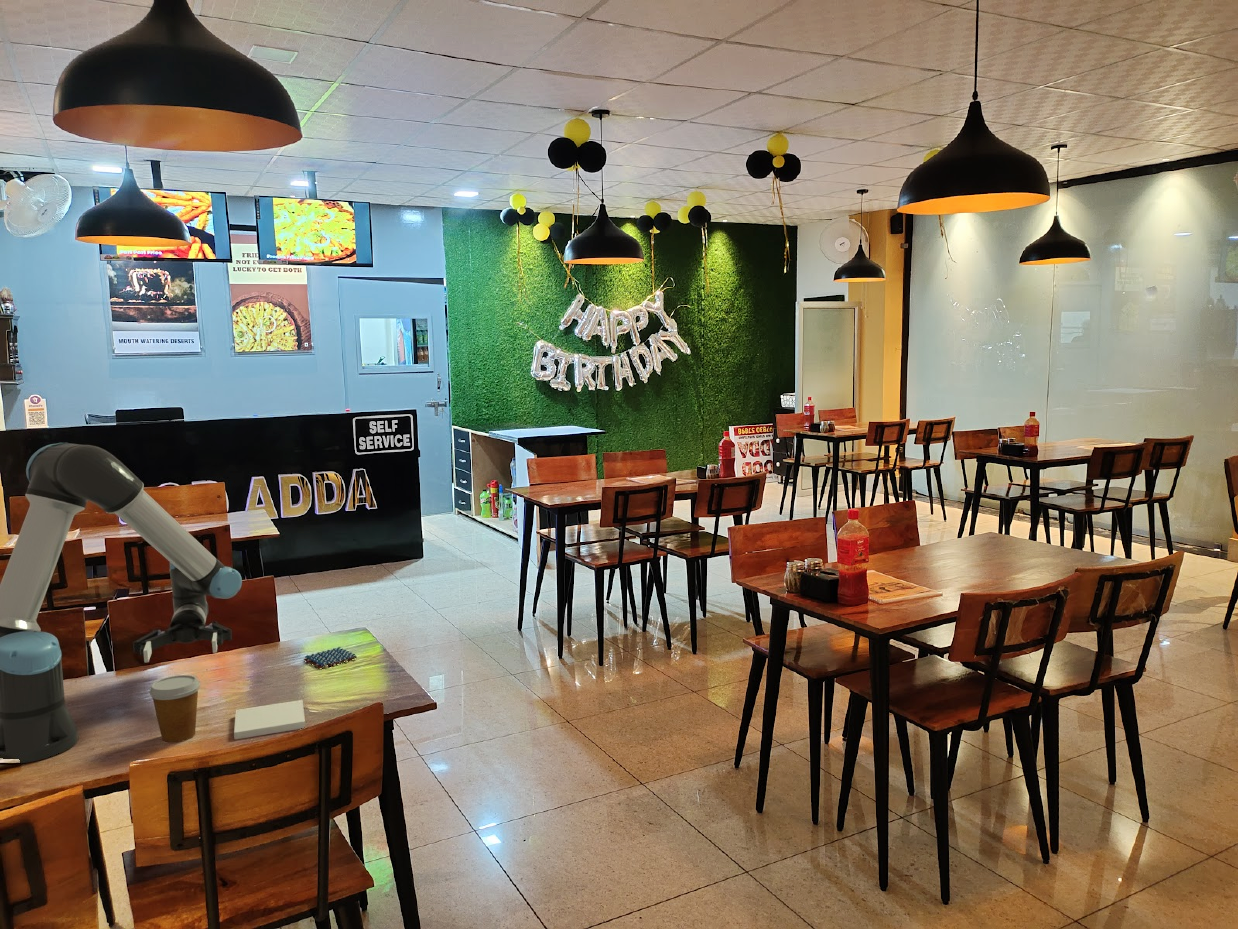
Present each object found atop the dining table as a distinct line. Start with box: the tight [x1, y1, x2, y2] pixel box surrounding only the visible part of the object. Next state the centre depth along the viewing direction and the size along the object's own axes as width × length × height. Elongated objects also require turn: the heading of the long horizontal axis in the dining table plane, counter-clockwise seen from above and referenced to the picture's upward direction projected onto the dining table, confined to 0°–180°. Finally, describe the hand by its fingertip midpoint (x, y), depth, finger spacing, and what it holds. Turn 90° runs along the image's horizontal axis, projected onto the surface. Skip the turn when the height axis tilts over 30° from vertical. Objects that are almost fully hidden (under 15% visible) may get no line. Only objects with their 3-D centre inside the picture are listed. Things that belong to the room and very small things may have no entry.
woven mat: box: [303, 646, 358, 669], centre depth 228 cm, size 10×11×2 cm
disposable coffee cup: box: [148, 674, 201, 744], centre depth 182 cm, size 10×10×12 cm
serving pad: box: [233, 699, 306, 740], centre depth 190 cm, size 14×13×2 cm
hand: (180, 651), depth 191 cm, fingers open, 13 cm apart
